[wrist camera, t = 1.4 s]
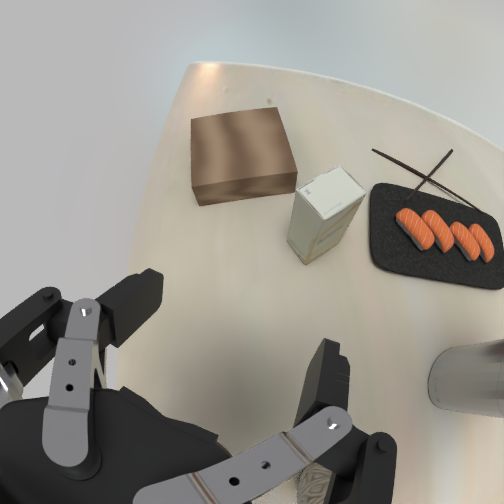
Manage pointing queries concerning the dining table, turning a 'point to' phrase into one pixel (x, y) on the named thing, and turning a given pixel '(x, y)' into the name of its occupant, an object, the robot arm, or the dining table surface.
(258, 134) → the block
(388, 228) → the sushi plate
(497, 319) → the dining table surface
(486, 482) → the dining table surface
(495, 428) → the dining table surface
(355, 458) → the robot arm
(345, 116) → the dining table surface
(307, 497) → the carving
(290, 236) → the skincare box
